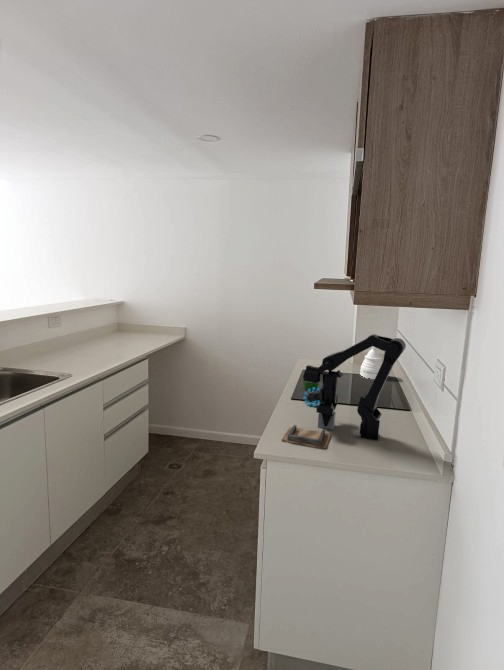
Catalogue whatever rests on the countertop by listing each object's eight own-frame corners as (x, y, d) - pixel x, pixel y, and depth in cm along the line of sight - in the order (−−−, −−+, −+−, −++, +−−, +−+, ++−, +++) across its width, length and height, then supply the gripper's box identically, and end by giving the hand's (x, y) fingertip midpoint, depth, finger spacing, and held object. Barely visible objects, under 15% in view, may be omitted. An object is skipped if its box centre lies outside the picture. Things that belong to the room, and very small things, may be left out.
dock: (330, 435, 161) (331, 429, 160) (325, 448, 148) (326, 442, 148) (289, 428, 165) (290, 422, 165) (281, 441, 153) (281, 434, 153)
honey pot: (383, 380, 241) (386, 349, 238) (360, 377, 244) (363, 347, 241) (381, 374, 254) (384, 345, 250) (359, 372, 256) (362, 343, 253)
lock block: (334, 425, 171) (335, 412, 170) (332, 429, 166) (333, 416, 165) (319, 422, 173) (320, 409, 172) (317, 427, 168) (318, 413, 167)
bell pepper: (317, 393, 212) (318, 373, 210) (301, 390, 214) (302, 371, 213) (319, 388, 220) (321, 369, 218) (304, 386, 222) (305, 367, 221)
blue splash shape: (299, 400, 194) (309, 383, 198) (302, 406, 198) (312, 389, 202) (320, 409, 188) (330, 391, 191) (322, 415, 192) (332, 397, 196)
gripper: (313, 377, 178) (310, 412, 180) (304, 389, 160) (301, 428, 163) (340, 381, 174) (337, 417, 177) (334, 393, 157) (330, 433, 160)
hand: (326, 423), depth 169 cm, fingers closed on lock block, 5 cm apart
